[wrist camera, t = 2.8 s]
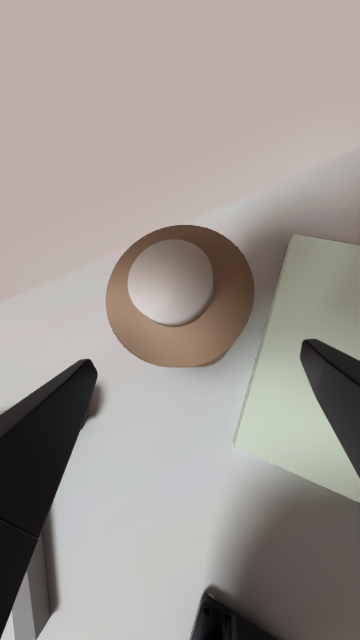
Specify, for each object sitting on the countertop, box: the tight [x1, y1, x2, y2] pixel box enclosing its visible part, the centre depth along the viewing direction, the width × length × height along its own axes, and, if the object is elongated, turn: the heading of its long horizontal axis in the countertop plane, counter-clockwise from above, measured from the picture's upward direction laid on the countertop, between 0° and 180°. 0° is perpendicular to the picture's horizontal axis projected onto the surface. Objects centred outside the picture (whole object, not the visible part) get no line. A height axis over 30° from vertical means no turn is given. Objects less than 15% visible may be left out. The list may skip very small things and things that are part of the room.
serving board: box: [233, 234, 360, 503], centre depth 15 cm, size 18×12×1 cm, turn 160°
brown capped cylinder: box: [106, 225, 254, 368], centre depth 12 cm, size 5×5×12 cm
